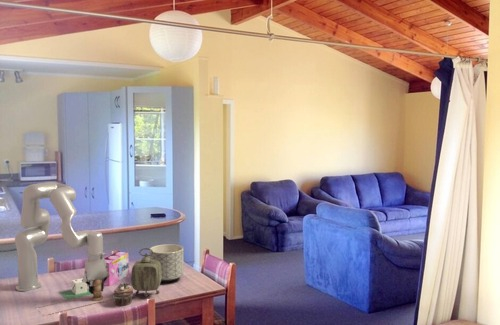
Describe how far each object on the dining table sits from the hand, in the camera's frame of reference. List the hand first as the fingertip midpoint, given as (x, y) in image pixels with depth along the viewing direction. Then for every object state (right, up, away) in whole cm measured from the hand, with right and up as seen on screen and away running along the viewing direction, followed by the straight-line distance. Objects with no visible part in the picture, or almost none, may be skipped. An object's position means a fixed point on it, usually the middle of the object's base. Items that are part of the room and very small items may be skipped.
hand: (96, 291), depth 240 cm
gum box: (0, -2, +30) cm, 31 cm away
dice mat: (-13, -3, +8) cm, 16 cm away
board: (-9, -4, -7) cm, 12 cm away
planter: (+30, -2, +31) cm, 43 cm away
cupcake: (+15, -5, -5) cm, 16 cm away
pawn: (+1, -4, -1) cm, 4 cm away
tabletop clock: (+24, -4, +5) cm, 25 cm away
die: (-12, -3, +10) cm, 16 cm away
